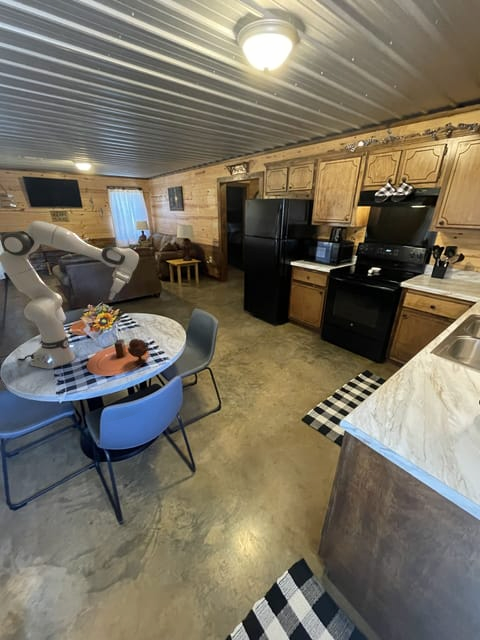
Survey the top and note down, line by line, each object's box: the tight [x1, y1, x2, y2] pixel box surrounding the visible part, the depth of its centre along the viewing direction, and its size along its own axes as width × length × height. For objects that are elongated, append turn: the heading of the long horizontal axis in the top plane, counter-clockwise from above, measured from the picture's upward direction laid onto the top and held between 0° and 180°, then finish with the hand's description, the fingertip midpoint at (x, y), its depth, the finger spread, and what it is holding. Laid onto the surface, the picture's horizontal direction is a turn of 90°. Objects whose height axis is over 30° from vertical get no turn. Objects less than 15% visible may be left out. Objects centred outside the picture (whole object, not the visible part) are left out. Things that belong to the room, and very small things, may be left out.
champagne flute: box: [55, 306, 71, 338], centre depth 177 cm, size 7×7×24 cm
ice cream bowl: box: [127, 338, 149, 366], centre depth 148 cm, size 11×11×15 cm
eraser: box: [114, 338, 127, 358], centre depth 157 cm, size 4×6×9 cm
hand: (109, 299), depth 142 cm, fingers open, 8 cm apart
